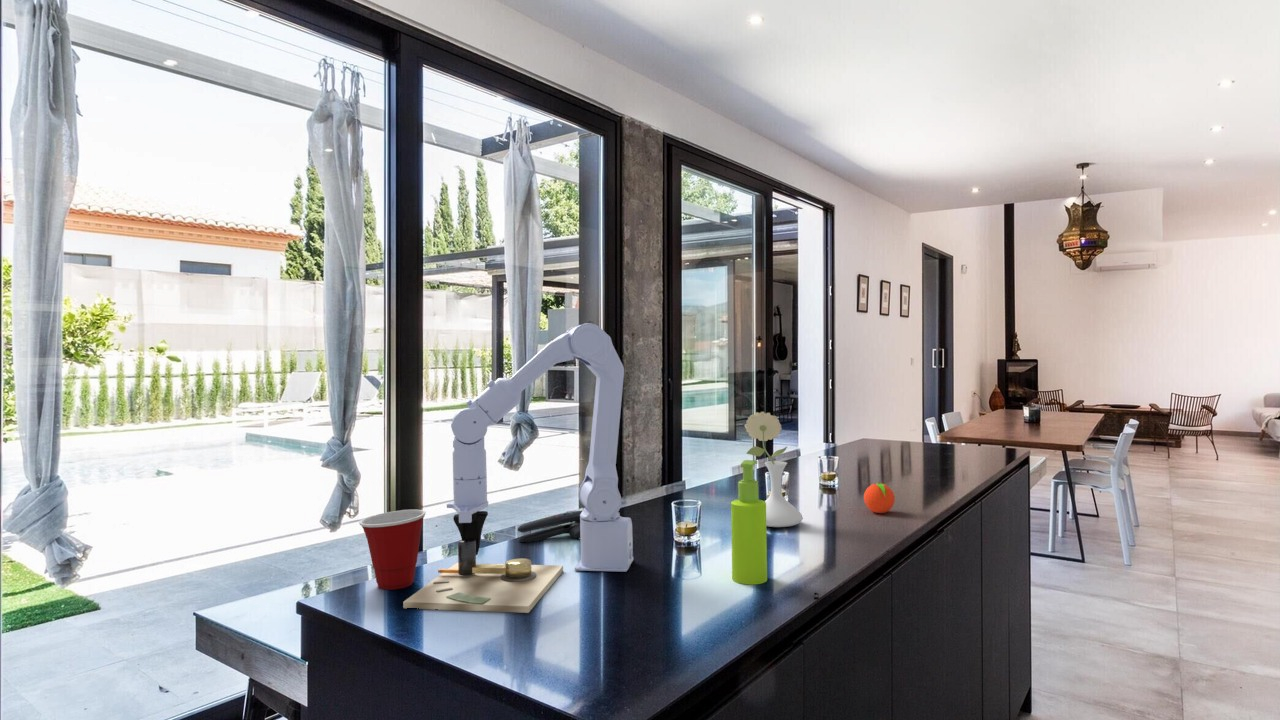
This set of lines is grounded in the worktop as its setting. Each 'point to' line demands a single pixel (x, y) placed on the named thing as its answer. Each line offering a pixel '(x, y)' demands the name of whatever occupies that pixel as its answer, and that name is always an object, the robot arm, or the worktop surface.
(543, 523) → the can opener
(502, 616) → the worktop surface
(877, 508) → the clementine
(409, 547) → the plastic cup
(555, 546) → the worktop surface
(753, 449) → the flower in vase
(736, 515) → the soap dispenser
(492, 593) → the dial board
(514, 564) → the lever
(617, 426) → the robot arm
